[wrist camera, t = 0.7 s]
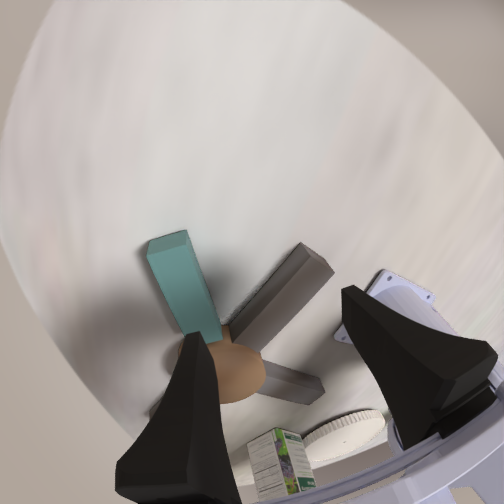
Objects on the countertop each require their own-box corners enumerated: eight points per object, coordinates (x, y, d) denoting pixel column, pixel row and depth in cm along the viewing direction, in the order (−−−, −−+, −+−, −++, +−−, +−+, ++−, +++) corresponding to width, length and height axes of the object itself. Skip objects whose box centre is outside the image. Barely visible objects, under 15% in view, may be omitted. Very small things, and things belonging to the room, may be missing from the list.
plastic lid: (364, 394, 34) (371, 408, 32) (387, 416, 41) (393, 427, 39) (279, 440, 37) (283, 455, 35) (319, 453, 44) (323, 464, 41)
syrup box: (301, 433, 36) (331, 519, 24) (270, 449, 37) (293, 531, 25) (276, 426, 33) (306, 524, 21) (244, 443, 35) (265, 535, 22)
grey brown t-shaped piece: (392, 308, 26) (408, 328, 24) (245, 434, 33) (250, 453, 31) (277, 225, 20) (290, 246, 17) (130, 404, 27) (129, 427, 24)
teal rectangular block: (220, 321, 23) (223, 339, 21) (189, 329, 22) (190, 347, 21) (186, 229, 18) (186, 244, 17) (149, 240, 18) (146, 256, 17)
